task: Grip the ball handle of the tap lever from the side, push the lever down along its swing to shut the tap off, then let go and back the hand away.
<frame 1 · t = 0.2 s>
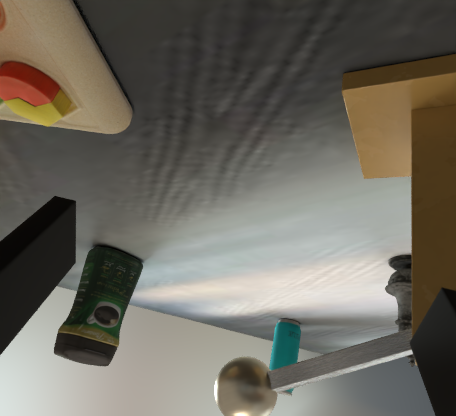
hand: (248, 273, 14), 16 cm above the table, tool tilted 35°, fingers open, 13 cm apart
tap bracket: (449, 113, 26), on the table
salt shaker: (411, 262, 48), on the table
beverage can: (289, 320, 89), on the table
coffee jar: (118, 254, 71), on the table
tap lever: (343, 361, 21), point 17 cm above the table, hinge at 24.0°
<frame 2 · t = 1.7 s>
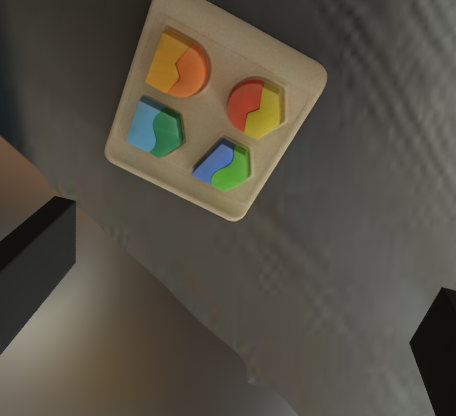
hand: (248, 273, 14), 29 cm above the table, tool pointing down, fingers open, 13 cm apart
puzzle board: (209, 113, 41), on the table
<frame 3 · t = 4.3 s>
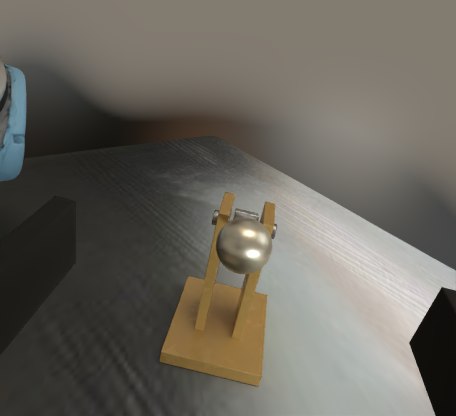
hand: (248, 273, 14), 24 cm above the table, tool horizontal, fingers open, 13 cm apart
tap bracket: (218, 329, 44), on the table
tap lever: (244, 233, 31), point 17 cm above the table, hinge at 24.0°
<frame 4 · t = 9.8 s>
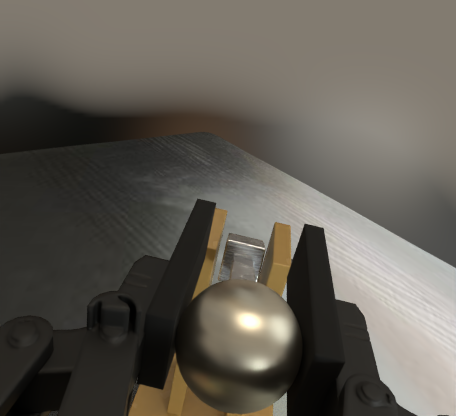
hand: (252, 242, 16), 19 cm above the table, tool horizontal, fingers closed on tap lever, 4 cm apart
tap bracket: (204, 406, 30), on the table
tap lever: (240, 287, 17), point 17 cm above the table, hinge at 24.0°, touching gripper
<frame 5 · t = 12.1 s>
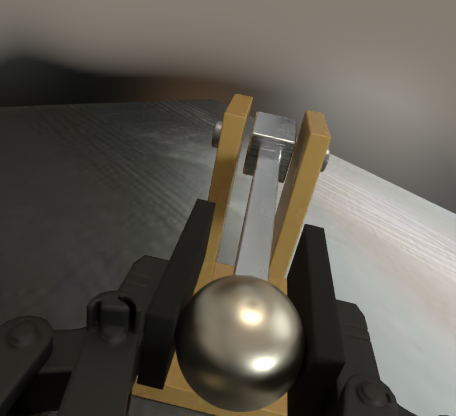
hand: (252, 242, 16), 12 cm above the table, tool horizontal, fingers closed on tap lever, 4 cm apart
tap bracket: (221, 334, 27), on the table
tap lever: (259, 216, 16), point 13 cm above the table, hinge at -8.3°, touching gripper
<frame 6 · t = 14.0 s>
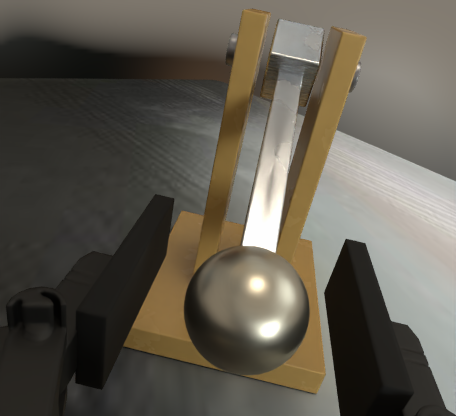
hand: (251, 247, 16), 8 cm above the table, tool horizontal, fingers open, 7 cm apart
tap bracket: (232, 292, 25), on the table
tap lever: (273, 161, 15), point 11 cm above the table, hinge at -27.0°
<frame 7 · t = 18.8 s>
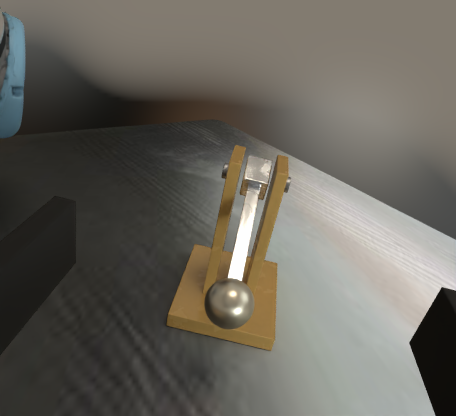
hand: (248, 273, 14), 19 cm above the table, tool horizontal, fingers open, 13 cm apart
tap bracket: (226, 296, 42), on the table
tap lever: (243, 235, 31), point 11 cm above the table, hinge at -27.0°
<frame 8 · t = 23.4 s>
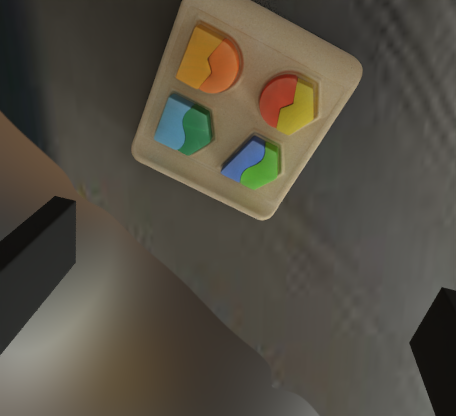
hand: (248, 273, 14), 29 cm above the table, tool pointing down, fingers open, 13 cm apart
puzzle board: (238, 109, 40), on the table
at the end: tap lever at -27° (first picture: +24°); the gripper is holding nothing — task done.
